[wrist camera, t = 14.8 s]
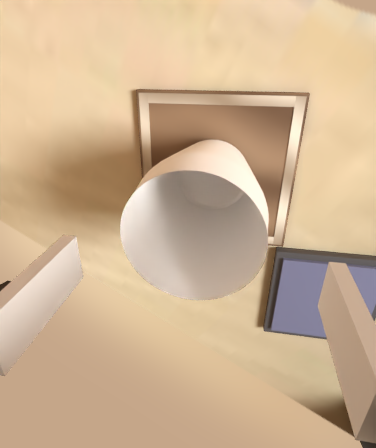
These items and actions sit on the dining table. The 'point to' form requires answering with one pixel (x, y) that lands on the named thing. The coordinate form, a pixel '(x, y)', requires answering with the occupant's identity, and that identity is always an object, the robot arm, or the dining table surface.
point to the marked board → (231, 136)
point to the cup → (197, 223)
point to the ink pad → (311, 289)
